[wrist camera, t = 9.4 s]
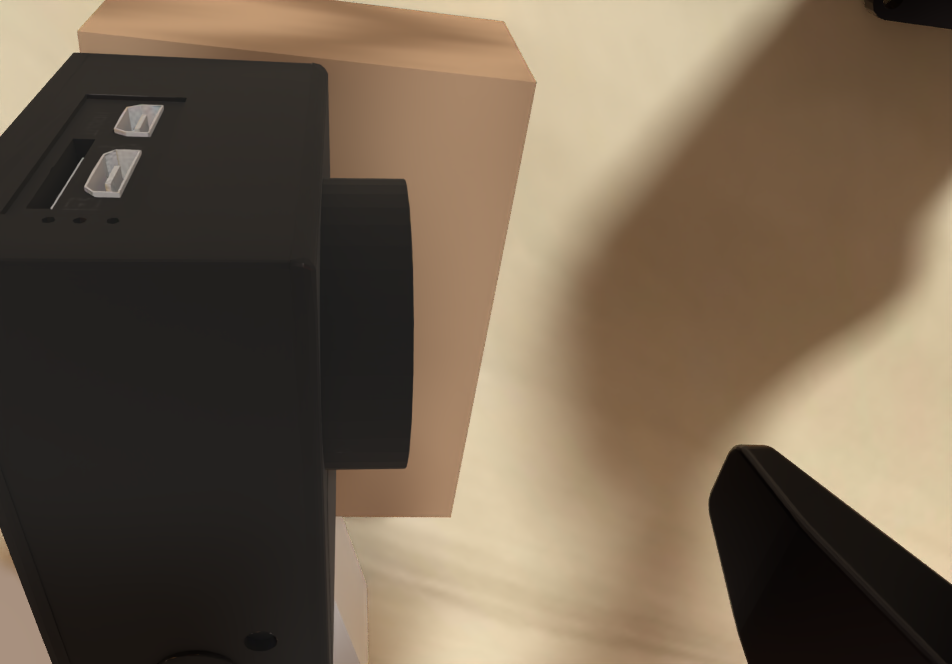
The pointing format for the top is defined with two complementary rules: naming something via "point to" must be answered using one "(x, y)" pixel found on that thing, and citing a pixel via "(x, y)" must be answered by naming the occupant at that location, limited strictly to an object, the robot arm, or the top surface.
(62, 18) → the top surface
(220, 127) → the digital camera
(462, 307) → the light brown rectangular block
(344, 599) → the grey block
